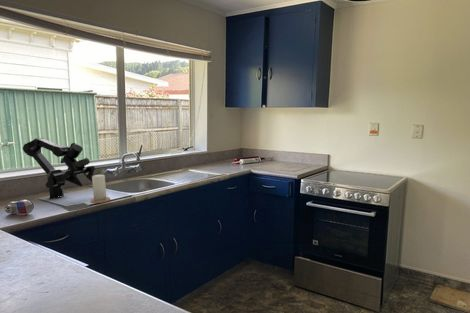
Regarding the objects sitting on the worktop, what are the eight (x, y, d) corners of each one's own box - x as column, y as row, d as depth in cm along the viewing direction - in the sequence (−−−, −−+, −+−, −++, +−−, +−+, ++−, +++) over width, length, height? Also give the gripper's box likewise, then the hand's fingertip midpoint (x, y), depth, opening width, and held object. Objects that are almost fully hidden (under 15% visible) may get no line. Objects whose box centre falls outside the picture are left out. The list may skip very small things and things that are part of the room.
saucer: (89, 204, 179) (88, 202, 179) (92, 199, 189) (92, 197, 189) (109, 202, 181) (108, 200, 181) (111, 198, 191) (111, 196, 191)
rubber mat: (61, 207, 173) (61, 207, 173) (83, 203, 181) (83, 202, 181) (69, 212, 165) (69, 211, 165) (91, 207, 173) (91, 206, 173)
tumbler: (95, 201, 181) (93, 177, 179) (92, 198, 186) (90, 175, 184) (108, 199, 184) (106, 175, 183) (104, 196, 190) (102, 174, 188)
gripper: (64, 156, 179) (81, 177, 176) (91, 152, 196) (107, 171, 193) (55, 170, 183) (71, 191, 180) (82, 164, 200) (98, 184, 197)
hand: (88, 184), depth 187 cm, fingers open, 9 cm apart
